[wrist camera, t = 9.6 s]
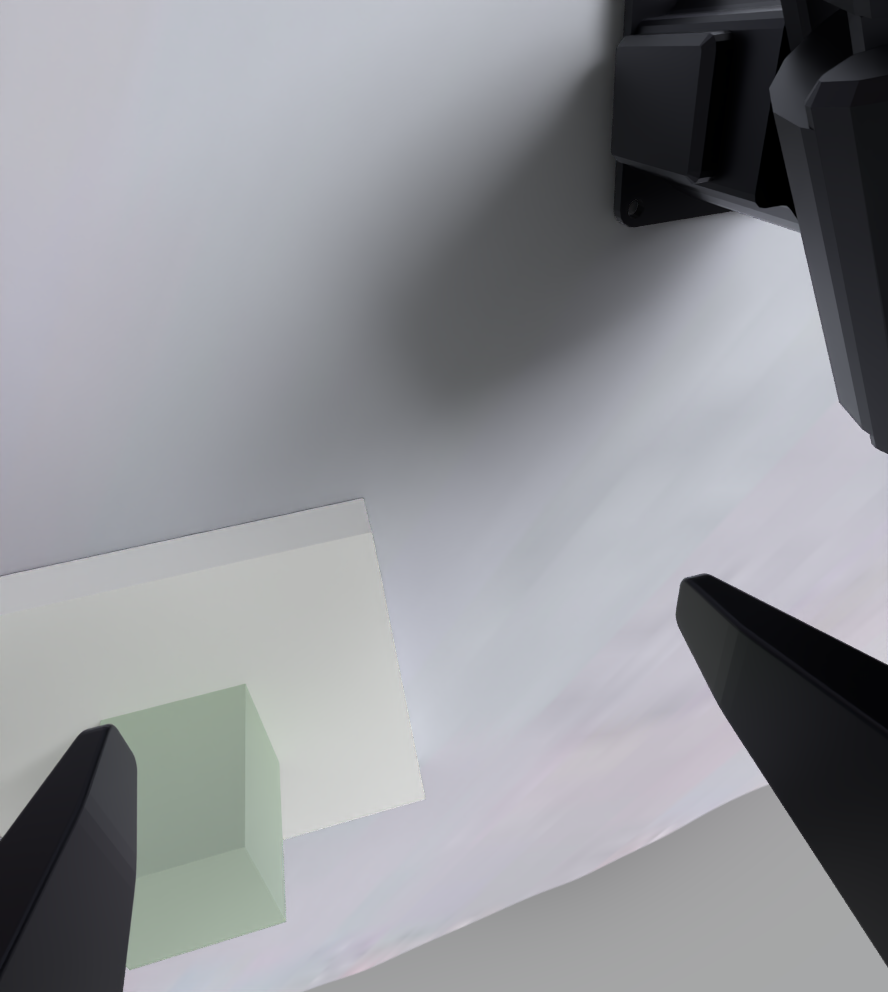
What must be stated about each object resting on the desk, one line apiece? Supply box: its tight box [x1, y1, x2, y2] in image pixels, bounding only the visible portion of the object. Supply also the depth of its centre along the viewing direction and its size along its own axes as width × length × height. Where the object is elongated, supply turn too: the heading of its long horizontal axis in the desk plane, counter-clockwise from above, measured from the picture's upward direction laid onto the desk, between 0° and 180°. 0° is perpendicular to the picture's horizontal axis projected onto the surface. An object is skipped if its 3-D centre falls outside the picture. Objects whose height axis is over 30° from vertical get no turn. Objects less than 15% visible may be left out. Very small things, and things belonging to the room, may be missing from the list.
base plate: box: [0, 498, 425, 840], centre depth 25 cm, size 16×16×2 cm
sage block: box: [100, 684, 286, 970], centre depth 22 cm, size 5×5×6 cm
